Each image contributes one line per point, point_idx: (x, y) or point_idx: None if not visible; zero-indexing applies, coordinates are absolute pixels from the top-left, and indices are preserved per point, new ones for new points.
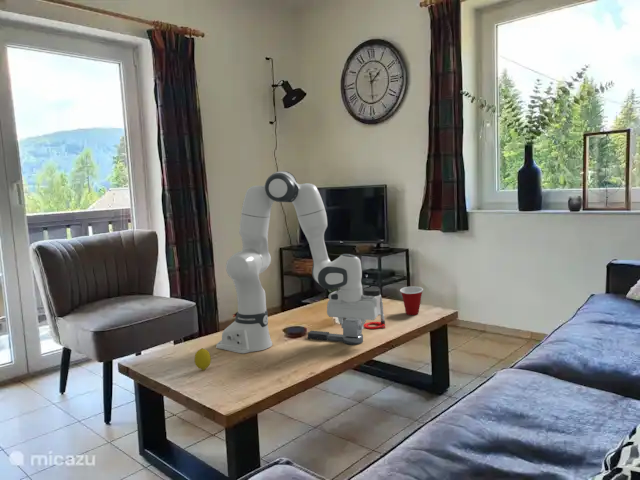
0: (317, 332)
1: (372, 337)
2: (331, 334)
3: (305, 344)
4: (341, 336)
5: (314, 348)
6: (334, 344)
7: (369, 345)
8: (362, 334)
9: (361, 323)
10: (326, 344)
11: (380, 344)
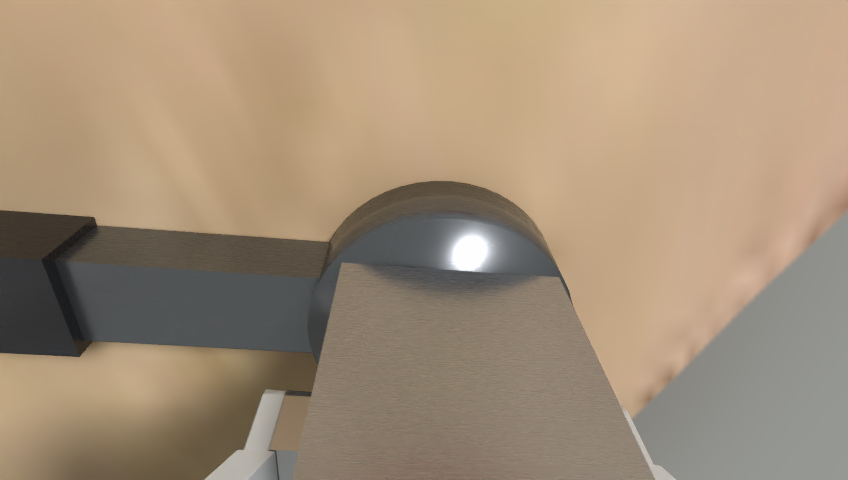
0: None
1: (672, 93)
2: (124, 295)
3: (9, 421)
4: (295, 340)
5: (158, 473)
6: (275, 380)
7: (623, 349)
8: (564, 282)
9: (613, 397)
10: (199, 392)
11: (741, 309)
